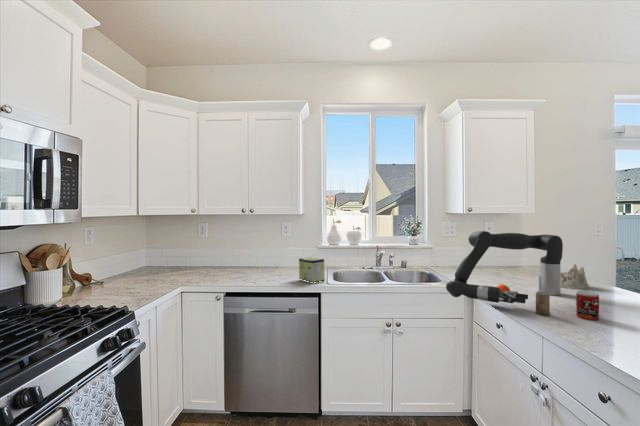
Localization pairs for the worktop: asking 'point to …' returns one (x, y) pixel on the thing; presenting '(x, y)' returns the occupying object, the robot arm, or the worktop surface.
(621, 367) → the worktop surface
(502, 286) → the clementine
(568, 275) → the beige irregular lump
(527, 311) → the worktop surface
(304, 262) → the protein box
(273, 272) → the worktop surface
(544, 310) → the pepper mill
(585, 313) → the canned food
